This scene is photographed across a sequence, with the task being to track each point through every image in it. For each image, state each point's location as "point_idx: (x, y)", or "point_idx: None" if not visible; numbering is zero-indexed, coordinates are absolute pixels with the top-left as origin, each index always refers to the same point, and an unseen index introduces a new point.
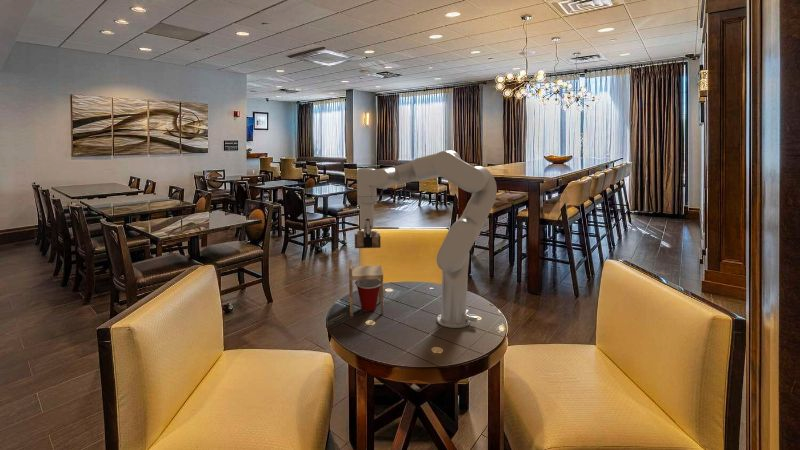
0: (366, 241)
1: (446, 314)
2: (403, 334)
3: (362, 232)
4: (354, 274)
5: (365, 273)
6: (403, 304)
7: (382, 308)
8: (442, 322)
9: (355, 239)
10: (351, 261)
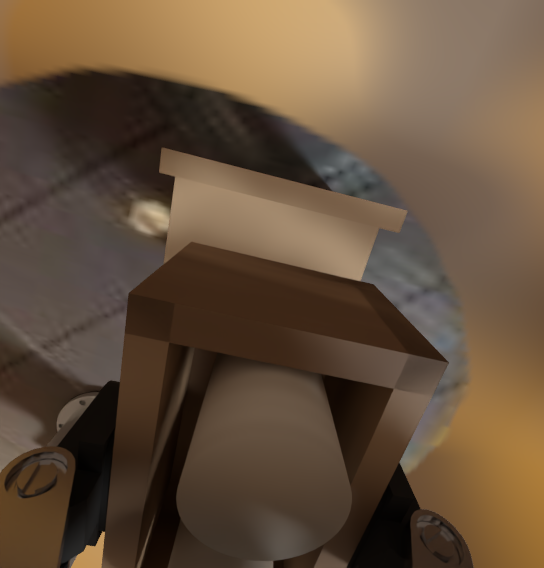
0: (86, 416)
1: (65, 426)
2: (45, 285)
3: (184, 514)
4: (205, 195)
5: None
6: None
7: None
8: (86, 401)
9: (147, 287)
10: (350, 217)
